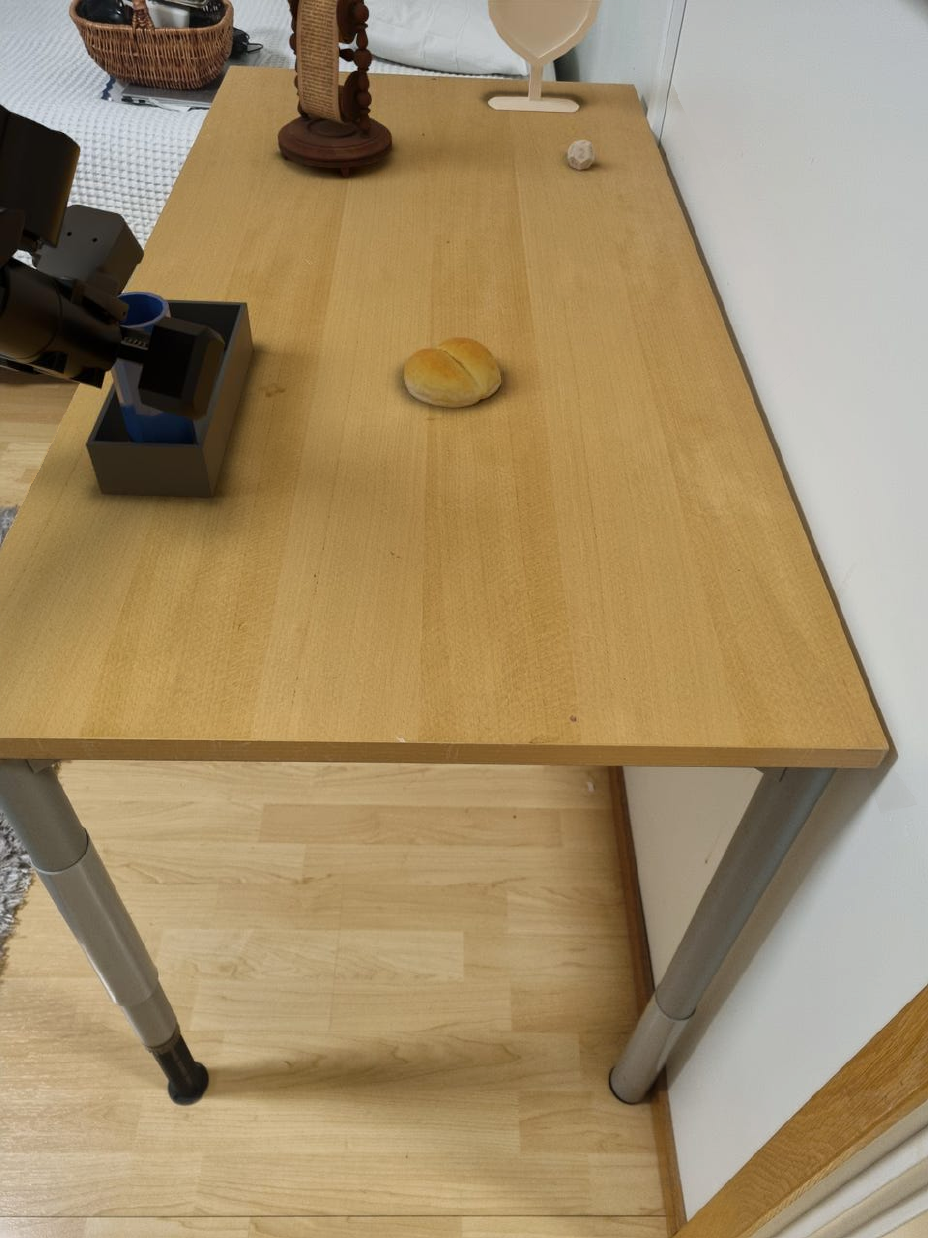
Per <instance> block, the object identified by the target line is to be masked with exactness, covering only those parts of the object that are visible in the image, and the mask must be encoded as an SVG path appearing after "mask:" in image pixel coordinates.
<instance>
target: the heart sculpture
mask: <svg viewBox="0 0 928 1238" xmlns="http://www.w3.org/2000/svg"><path fill="white" fill-rule="evenodd" d="M601 2H602V0H487V7H488V16H489V19H490V21H491V24H492V25H493V27H494V29H495V31H496V33H497V35H498V37H499V38H500V39H501V40H502V41H503V42H504V44H506V45H507V46H508V47H509V48H510V50H511V51H512V52H513V53H515V54H516V55H518V56H519V57H520V58H522V59H523V60H524V61H525V62H527V63H528V64H530V68H529V84H528V94H527V96H494V97H492V98H490V99H489V100H488V101H487V104H488V105H489V107H491V108H492V109H494V110H496V111H521V112H522V111H524V112H546V113H548V112H551V113H571V114H572V113H575V112H577V111H578V110H579V109H580V105H579V104H578V103H576V102H575V101H574V100H572V99H568V98H567V99H566V98H553V97H542V87H543V85H542V84H543V76H544V67H545V66H547V65H549V64H550V63H552V62H553V61H555V60H556V59H558V58H560V57H562V56H564V55H566V54H567V53H569V51H570V50H572V49H573V48H574V47H576V45H578V44H579V43H580V42H581V41H583V40H584V38H585V37H586V35H587V34H588V32H589V31H590V29H591V28H592V26H593V25H594V24H595V22H596V20H597V16H598V13H599V9H600V5H601Z"/></svg>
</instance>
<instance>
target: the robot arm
mask: <svg viewBox="0 0 928 1238" xmlns="http://www.w3.org/2000/svg"><path fill="white" fill-rule="evenodd" d="M81 150H82V149H81V146H80V145H79V143H77V142H76V141H75V140H74V139H73V138H72V137H71V136H69V135H68V134H67V133H65V132H63V131H60V130H56V129H52V128H50V127H48V126H46V125H44V124H42V123H40V122H39V121H35V120H33V119H31V118H29V117H27V116H24V115H22V114H19V113H16V112H14V111H11V110H9V109H7V107H5V106H4V105H2V104H1V103H0V367H1V368H4V369H8V370H10V371H15V372H20V373H21V372H22V373H24V374H29V375H33V376H42V375H43V376H44V375H49V376H52V377H55V378H59V379H63V380H67V381H71V382H74V383H78V384H81V385H85V386H89V387H92V388H96V389H100V390H102V389H103V385H104V381H105V376H106V373H107V372H111V368H112V367H113V366H114V364H115V362H116V361H117V360H121V361H125V362H128V363H132V364H136V365H140V366H143V368H142V372H141V376H140V380H139V384H138V392H139V396H140V400H141V404H143V405H146V406H148V407H151V408H154V409H157V410H160V411H164V412H167V413H170V414H174V415H178V416H181V417H185V418H189V419H192V420H196V421H198V420H199V419H201V418H203V417H204V416H206V415H207V411H208V407H209V403H210V399H211V396H212V392H213V388H214V384H215V380H216V377H217V373H218V369H219V365H220V361H221V358H222V354H223V350H224V346H225V343H224V341H223V339H222V337H221V335H220V334H219V333H217V332H215V331H214V330H212V329H211V328H209V327H207V326H203V325H199V324H195V323H191V322H187V321H183V320H179V319H175V318H171V317H167V316H163V317H162V318H161V319H160V320H159V321H158V322H156V323H155V324H154V326H153V330H152V333H147V332H143V331H139V330H135V329H131V328H128V327H124V326H120V325H118V322H122V323H124V322H125V320H126V316H127V312H128V308H129V305H128V304H127V303H125V302H123V301H121V300H119V299H118V298H117V296H119V295H120V294H121V293H124V291H125V289H126V287H127V285H128V283H129V281H130V279H131V278H132V276H133V274H134V272H135V270H136V269H137V267H138V266H139V265H140V264H141V263H142V262H143V259H144V256H145V250H144V249H143V246H142V245H141V244H140V242H139V240H138V239H137V238H136V236H135V234H134V232H133V231H132V229H131V227H130V226H129V224H128V223H127V221H126V220H125V218H124V216H122V215H121V214H120V213H118V212H115V211H109V210H106V209H101V208H97V207H96V208H95V207H92V206H88V205H83V204H71V205H69V206H68V204H69V200H70V195H71V192H72V188H73V185H74V184H73V183H74V180H75V175H76V173H77V168H78V163H79V159H80V155H81ZM18 251H21V252H25V253H28V254H29V256H30V257H31V265H32V266H31V265H29V264H27V263H26V262H24V261H21V260H20V259H18V258H16V257H14V255H15V254H17V252H18ZM122 341H123V342H125V343H127V342H128V343H130V344H132V343H133V344H134V345H137V344H138V346H140V347H142V345H143V347H145V348H147V346H148V349H147V350H144V349H141V348H137V347H133V346H129V345H125V344H121V342H122Z"/></svg>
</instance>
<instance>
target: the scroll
mask: <svg viewBox="0 0 928 1238" xmlns="http://www.w3.org/2000/svg"><path fill="white" fill-rule="evenodd" d="M286 2H287V3H288V5H289V10H288V11H289V12H290V16H291V22H290V28H291V31H292V33H291V34H290V36H289V38H288V43H289V47H290V49H291V50H292V51H293V52H292V53H293V55H294V56H295V61H294V68H293V69H294V71H295V73H296V75H295V76H294V79H293V84H294V87H295V89H297V92H296V96H297V97H298V102H297V107H296V108H297V109H296V111H297V112H298V114H299V115H300V116H299V117H296V118H294V119H293V120H290V121H289V122H287V123H286V124H285V125H283V126H282V127H281V128H280V130H279V131H278V134H277V143H278V144H277V145H278V149H279V150H280V154H281V156H282V158H283V160H285V161H287V160H289V159H290V160H292V161H294V162H296V163H300V164H303V165H307V166H311V167H315V168H317V167H318V168H327V169H328V168H329V169H340V172H341V174H342V176H343V177H344V178H348V177H349V174H350V171H351V170H350V169H351V168H355V167H361V166H366V165H370V164H372V163H375V162H378V161H380V160H382V159H383V158H386V157H387V156H388V155H389V154H390V153H391V151H392V149H393V135H392V132H391V131H390V129H389V128H388V127H387V126H385V125H384V124H382V123H381V122H379V121H378V120H376V119H374V118H373V117H370V115H369V114H370V113H371V112H372V111H371V108H370V106H371V105H372V102H373V101H372V100H373V98H372V94H371V93H370V91H369V89H370V87H371V83H370V79H369V75H368V72H369V71H370V67H371V65H372V64H373V63H372V62H373V55H372V52H371V50H369V49H368V47H369V38H368V33H367V30H366V29H368V28H369V24H368V23H366V22H367V21H368V20H369V18H370V9H369V8H368V6H367V5H366V4H365V0H286ZM354 42H355V45H356V47H357V48H356V49H355V50H354V49H352V48H350V47H346V48H345V47H344V48H341V47H340V44H343V45H351V44H352V43H354ZM340 59H342V60H343V61H345V62H346V63H352V62H353V64H354V65H355V67H356V69H355V70H353V71H351V72H350V73H349V74H348V76H347V77H346V79H345V81H344V83H343V85H342V84H339V81H340V80H339V79H340Z"/></svg>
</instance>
